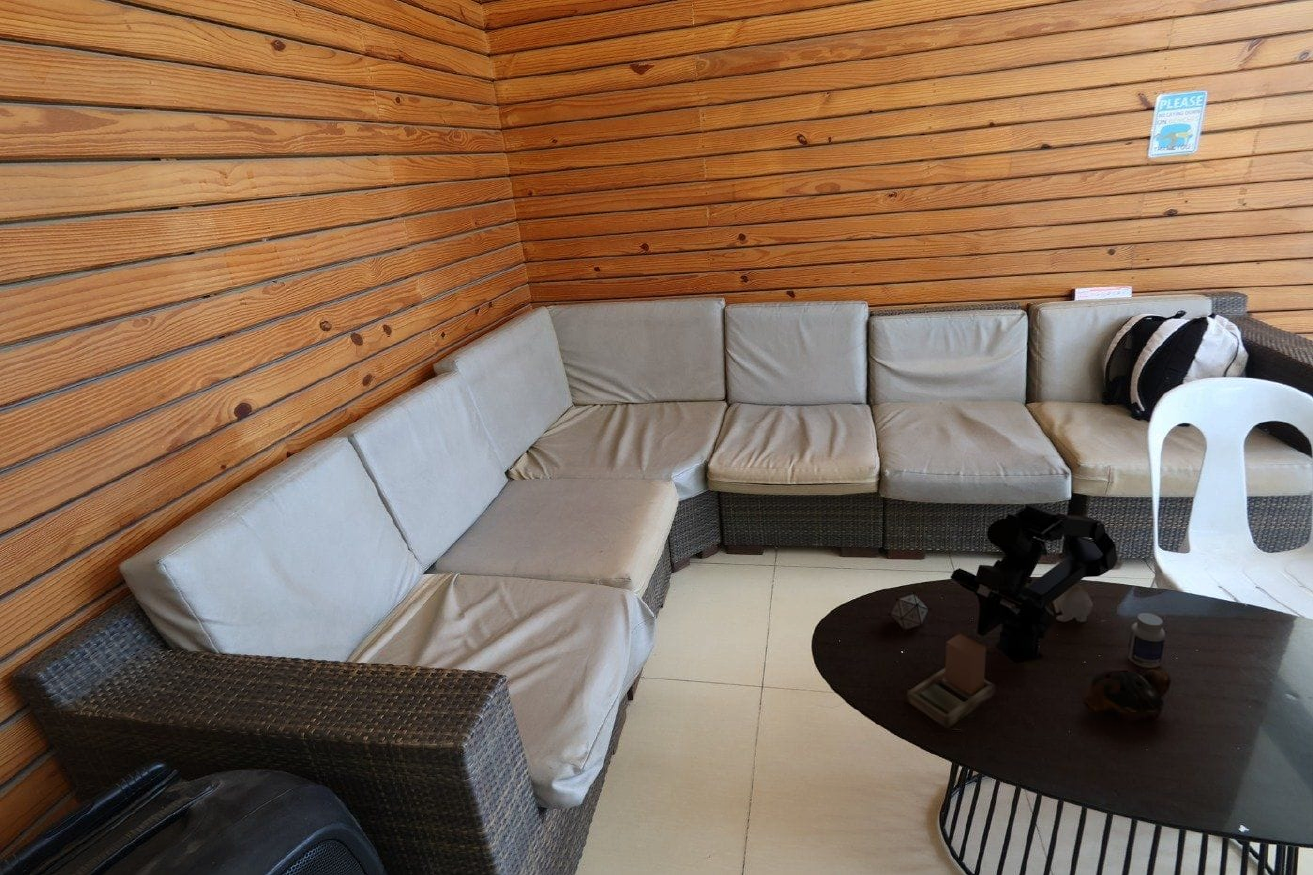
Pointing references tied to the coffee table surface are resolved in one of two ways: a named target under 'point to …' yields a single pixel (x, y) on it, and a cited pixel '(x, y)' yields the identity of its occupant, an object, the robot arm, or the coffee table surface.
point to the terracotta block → (965, 664)
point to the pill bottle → (1146, 641)
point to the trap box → (947, 699)
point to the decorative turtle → (1128, 694)
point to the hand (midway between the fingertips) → (979, 635)
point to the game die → (909, 611)
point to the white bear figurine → (1073, 604)
